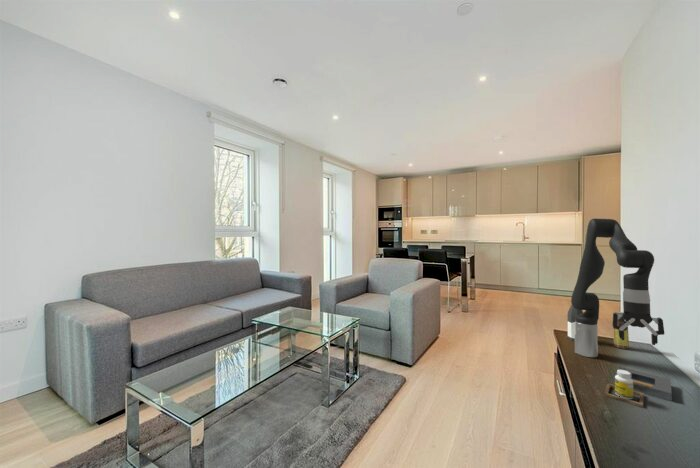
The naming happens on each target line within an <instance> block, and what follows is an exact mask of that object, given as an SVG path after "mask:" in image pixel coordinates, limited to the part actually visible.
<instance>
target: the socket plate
mask: <svg viewBox="0 0 700 468" xmlns="http://www.w3.org/2000/svg"><path fill="white" fill-rule="evenodd" d="M617 370H625V371H628V372H630V373H631V377H630V378H631V379H632V380H633V391H637V392H640V393H644V395H648V396H651V397H655V398H660V399H662V400H666V401H669V402H672V399H673V397H672V395H673V394H672V382H671V378H668V377H664V376H660V375H656V374H652V373H648V372H644V371H639V370H636V369H632V368H627V367H623V366H619V367H618V369H617ZM616 375H618V374H617V373H616Z"/></svg>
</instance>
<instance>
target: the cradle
mask: <svg viewBox="0 0 700 468" xmlns="http://www.w3.org/2000/svg"><path fill="white" fill-rule="evenodd" d="M611 388H612V389H615V384H612V383H607V384H606V387H605V389H604V393H603V394H604V395H606V396H605V397H607V396H609V397H608V398H610V397H612V398H611V399H613V398H615V399H614V400H617V399H618V401H620V400H621V401H620V402H623V401H624V403H626V402H627V404H630V403H631V404H630V405H633V404H634V405H633V406H636V405H637V407H639V406H641V407H640V408H644V401H645V400H644V399H645V394H644V393H641V392H637V391H634V390H633V395H634V396H635V395H636V396H639V402H638V401H635V400H632V399H625V398H622V397H619V396H618V395H616V394H613V393H609V392H610V390H611Z"/></svg>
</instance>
